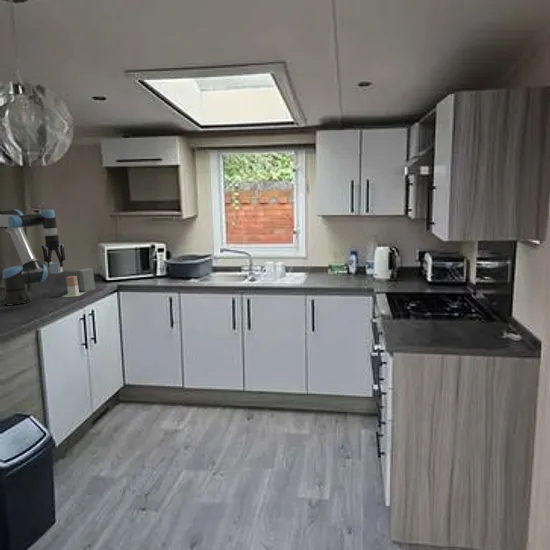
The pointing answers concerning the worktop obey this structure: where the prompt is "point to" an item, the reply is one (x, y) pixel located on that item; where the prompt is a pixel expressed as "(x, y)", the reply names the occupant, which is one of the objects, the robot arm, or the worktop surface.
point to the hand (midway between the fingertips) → (56, 272)
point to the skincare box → (86, 279)
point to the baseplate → (74, 295)
